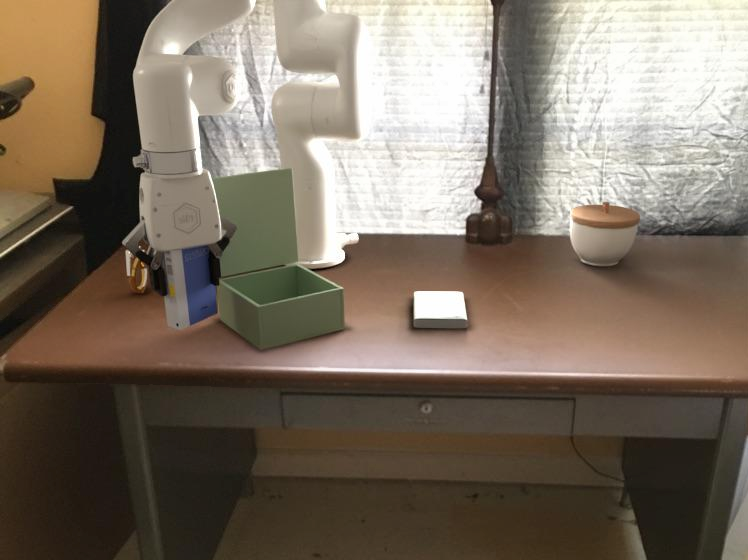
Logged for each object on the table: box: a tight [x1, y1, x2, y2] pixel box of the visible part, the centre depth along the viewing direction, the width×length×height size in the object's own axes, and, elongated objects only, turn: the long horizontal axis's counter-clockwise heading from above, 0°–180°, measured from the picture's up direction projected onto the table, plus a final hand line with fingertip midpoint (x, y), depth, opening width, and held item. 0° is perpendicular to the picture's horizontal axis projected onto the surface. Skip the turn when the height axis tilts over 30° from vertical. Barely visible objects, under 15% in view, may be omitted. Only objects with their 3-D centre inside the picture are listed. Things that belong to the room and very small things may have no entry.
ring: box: [125, 245, 149, 294], centre depth 141 cm, size 7×3×8 cm, turn 172°
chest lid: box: [211, 168, 298, 278], centre depth 129 cm, size 15×14×1 cm
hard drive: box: [413, 290, 468, 329], centre depth 135 cm, size 2×8×12 cm
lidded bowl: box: [569, 201, 641, 267], centre depth 158 cm, size 13×13×11 cm
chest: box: [216, 264, 346, 351], centre depth 129 cm, size 14×14×7 cm
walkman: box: [160, 245, 219, 331], centre depth 120 cm, size 8×3×12 cm, turn 148°
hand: (187, 287), depth 120 cm, fingers closed on walkman, 7 cm apart
